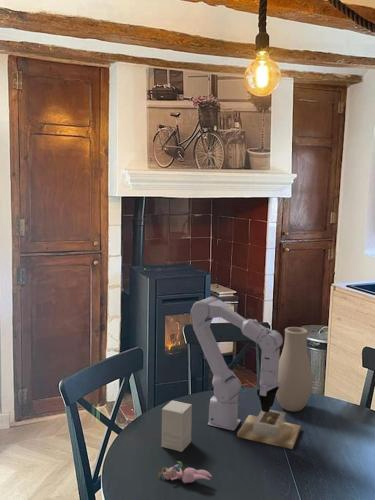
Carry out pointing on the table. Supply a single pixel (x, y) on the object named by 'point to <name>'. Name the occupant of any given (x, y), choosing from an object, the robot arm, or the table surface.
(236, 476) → the table surface
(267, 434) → the beige hollow boxy piece
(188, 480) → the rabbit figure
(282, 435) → the board
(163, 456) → the table surface
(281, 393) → the vase
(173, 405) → the supplement box
